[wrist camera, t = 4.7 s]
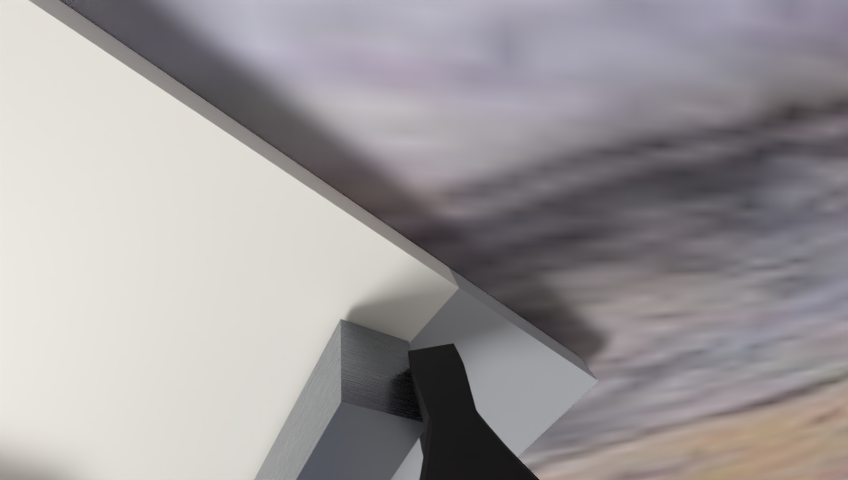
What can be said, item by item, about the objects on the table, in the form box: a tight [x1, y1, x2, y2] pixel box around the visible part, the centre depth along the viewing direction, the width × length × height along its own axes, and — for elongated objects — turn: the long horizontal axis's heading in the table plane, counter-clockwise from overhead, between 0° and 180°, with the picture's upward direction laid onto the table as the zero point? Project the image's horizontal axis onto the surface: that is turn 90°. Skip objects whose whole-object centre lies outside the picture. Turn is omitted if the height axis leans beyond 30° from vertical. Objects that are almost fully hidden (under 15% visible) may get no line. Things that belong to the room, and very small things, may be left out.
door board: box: [0, 0, 598, 480], centre depth 11 cm, size 18×15×4 cm
